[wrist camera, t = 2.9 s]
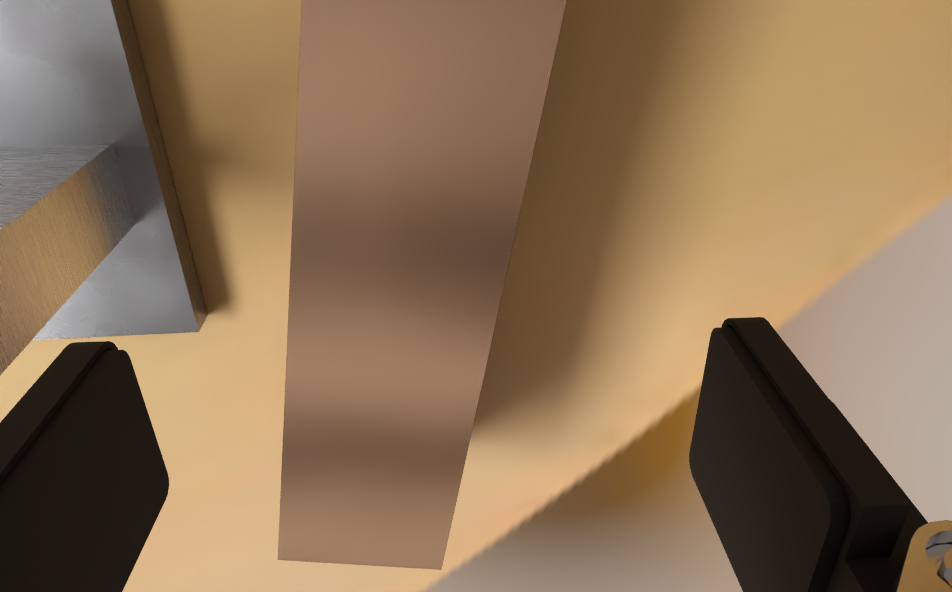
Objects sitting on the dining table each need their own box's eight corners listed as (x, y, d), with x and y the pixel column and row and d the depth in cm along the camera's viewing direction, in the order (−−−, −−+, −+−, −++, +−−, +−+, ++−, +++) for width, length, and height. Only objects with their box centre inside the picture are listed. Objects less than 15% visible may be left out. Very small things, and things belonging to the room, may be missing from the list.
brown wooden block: (356, -330, 15) (321, -450, 10) (574, -278, 16) (646, -364, 11) (307, 427, 26) (277, 559, 21) (438, 438, 27) (441, 569, 21)
